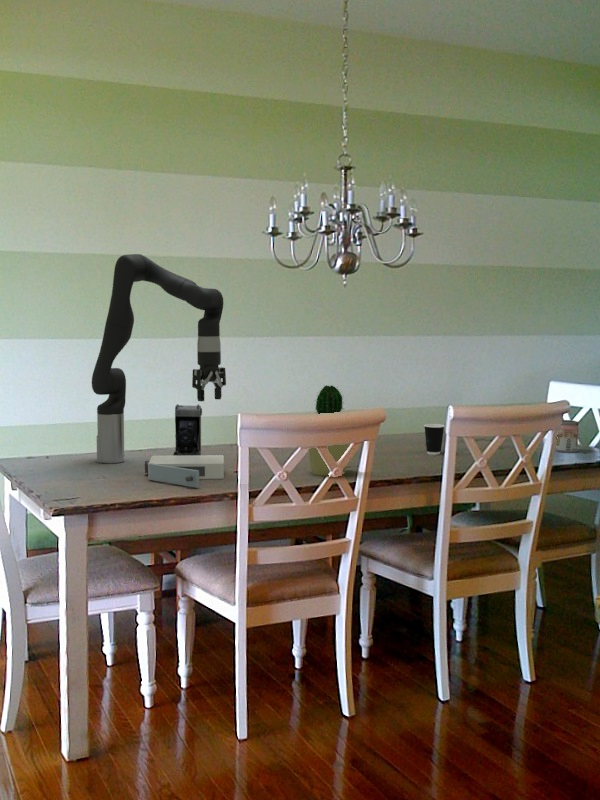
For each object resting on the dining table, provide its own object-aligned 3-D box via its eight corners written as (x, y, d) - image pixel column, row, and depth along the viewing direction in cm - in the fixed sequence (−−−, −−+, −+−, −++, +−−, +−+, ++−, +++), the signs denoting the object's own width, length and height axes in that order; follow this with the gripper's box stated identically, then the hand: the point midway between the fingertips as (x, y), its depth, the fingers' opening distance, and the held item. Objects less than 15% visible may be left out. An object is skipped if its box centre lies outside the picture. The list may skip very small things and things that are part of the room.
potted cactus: (306, 477, 284) (306, 385, 281) (304, 468, 299) (305, 381, 296) (353, 477, 284) (354, 385, 281) (349, 468, 299) (350, 381, 296)
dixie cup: (419, 453, 332) (419, 425, 331) (431, 451, 338) (432, 423, 336) (435, 456, 326) (436, 427, 325) (448, 453, 332) (449, 425, 331)
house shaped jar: (554, 448, 346) (555, 419, 345) (576, 449, 344) (577, 419, 343) (556, 452, 337) (557, 421, 336) (578, 453, 335) (580, 422, 334)
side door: (143, 480, 275) (143, 464, 274) (151, 478, 277) (151, 462, 277) (192, 488, 263) (192, 471, 262) (200, 486, 265) (200, 470, 265)
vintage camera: (170, 465, 304) (171, 409, 302) (175, 456, 320) (175, 403, 317) (198, 466, 305) (199, 410, 302) (201, 457, 320) (202, 404, 317)
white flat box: (143, 479, 277) (143, 464, 277) (147, 470, 293) (147, 455, 293) (223, 478, 279) (223, 463, 279) (223, 469, 295) (223, 455, 295)
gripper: (203, 351, 273) (204, 402, 275) (231, 350, 285) (232, 399, 287) (185, 351, 277) (186, 401, 279) (214, 349, 289) (214, 398, 291)
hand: (209, 400), depth 283 cm, fingers open, 8 cm apart
